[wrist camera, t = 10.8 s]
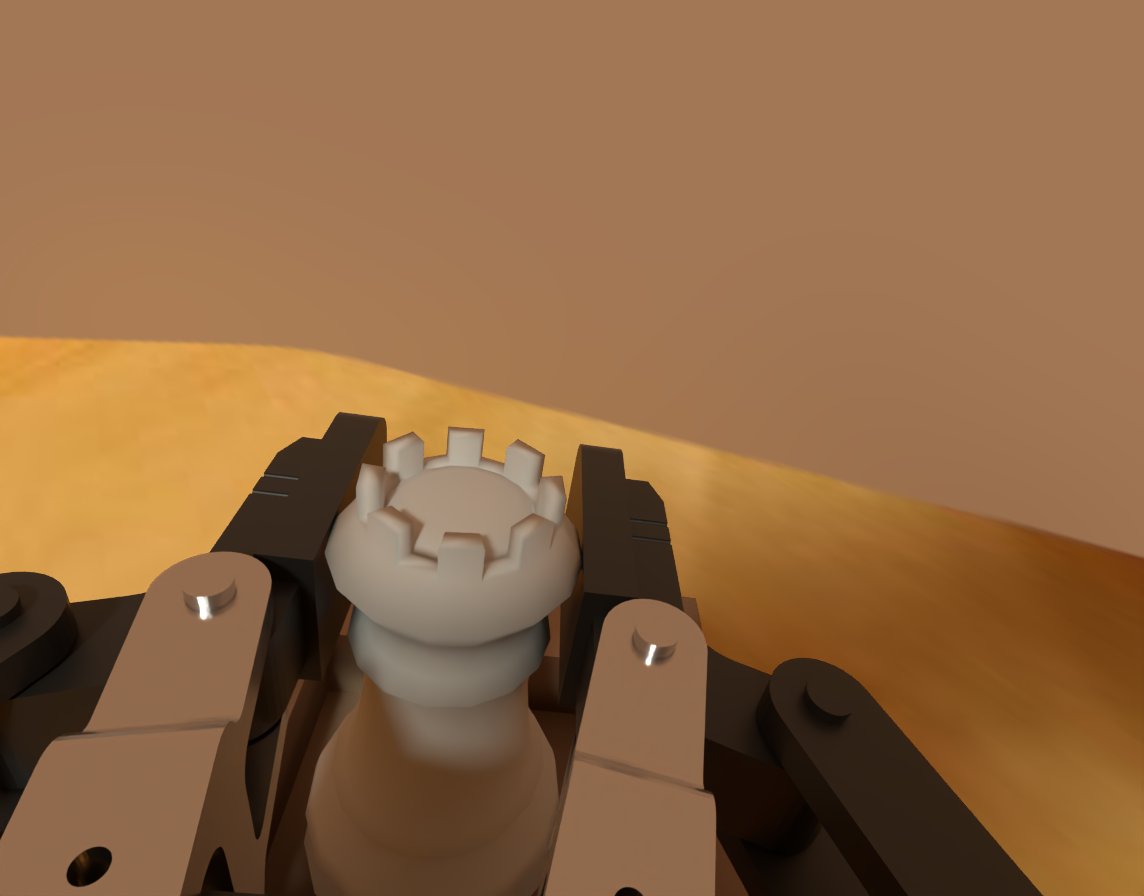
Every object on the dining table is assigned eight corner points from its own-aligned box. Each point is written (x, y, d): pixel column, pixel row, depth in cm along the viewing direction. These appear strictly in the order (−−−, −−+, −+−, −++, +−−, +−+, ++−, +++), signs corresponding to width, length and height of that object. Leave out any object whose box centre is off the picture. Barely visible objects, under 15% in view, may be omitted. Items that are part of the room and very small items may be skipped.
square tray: (672, 661, 18) (695, 598, 17) (769, 1305, 9) (833, 1279, 8) (267, 619, 18) (257, 549, 16) (-68, 1283, 8) (-155, 1249, 7)
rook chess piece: (257, 946, 10) (175, 575, 6) (358, 704, 14) (350, 370, 10) (537, 993, 11) (646, 658, 6) (563, 740, 14) (642, 422, 10)
